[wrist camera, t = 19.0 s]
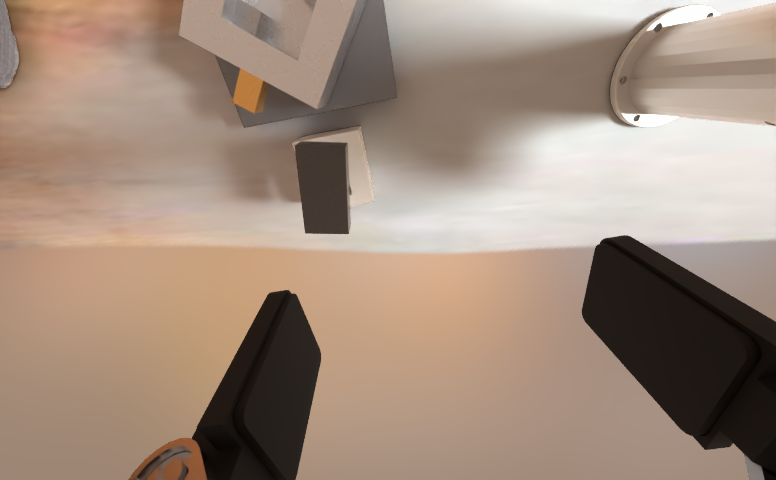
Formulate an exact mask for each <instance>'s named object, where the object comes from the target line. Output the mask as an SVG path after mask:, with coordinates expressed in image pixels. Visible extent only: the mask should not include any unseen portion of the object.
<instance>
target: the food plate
mask: <svg viewBox="0 0 776 480" xmlns="http://www.w3.org/2000/svg"><path fill="white" fill-rule="evenodd" d="M5 5H6V4H5V1H4V0H0V87H1V88H6V87H8V86H9V85H10V83H11V82H12V81H13V76H15V75H16V74H15V73H16V72H17V71H16V69H17V68H18V65H19V51H18V49H17V46H16V45H17V43H16V40H15V39H16V37H15V36H14V35H13V33H12V31H11V25H10V22H9V21H10V20H9V15H8V9H7V8H6V6H5ZM1 88H0V89H1Z"/></svg>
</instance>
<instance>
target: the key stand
mask: <svg viewBox="0 0 776 480" xmlns="http://www.w3.org/2000/svg"><path fill="white" fill-rule="evenodd" d="M301 141H309V142H343V143H348V164H349V193H350V206H353V205H359V204H365V203H370V202H374V189H373V184H372V179H371V174H370V170H369V165H368V160H367V155H366V150H365V145H364V141H363V136H362V131H361V126H356V127H350V128H345V129H340V130H335V131H330V132H324V133H319V134H314V135H309V136H304V137H300V138H299V139H297V140H295V141H294V142H292V145H293V148H294V151H295V145H296V144H298V143H299V142H301ZM295 154H296V153H295Z"/></svg>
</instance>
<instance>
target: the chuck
mask: <svg viewBox="0 0 776 480" xmlns="http://www.w3.org/2000/svg"><path fill="white" fill-rule="evenodd" d="M366 1H367V0H184V1H183V8H182V15H181V22H180V29H179V36H181V37H183V38H185V39H187V40H189V41H190V42H192V43H194V44H196V45H198V46H200V47H202V48H204V49H205V50H207V51H209V52H211V53H213V54H215V55H217V56H218V57H220V58H222V59H224V60H226V61H228V62H230V63H232V64H233V65H235V66H237V67H239V68H240V72H239V76H238V80H237V84H236V89H235V93H234V97H233V101H232V102H233V103H235V104H237V105H239V106H241V107H243V108H245V109H247V110H249V111H250V112H252V113H259V112H262V110H263V107H264V103H265V100H266V96H267V93H268V89H269V86H270V84H271V85H273V86H274V87H276V88H278V89H280V90H282V91H284V92H286V93H288V94H289V95H291V96H293V97H295V98H297V99H299V100H301V101H302V102H304V103H306V104H308V105H310V106H312V107H314V108H315V109H319V108H322V107H325V106H327V104H328V102H329V99H330V97H331V94H332V91H333V89H334V86H335V83H336V81H337V78H338V75H339V73H340V70H341V67H342V65H343V62H344V60H345V57H346V54H347V52H348V49H349V46H350V44H351V41H352V38H353V36H354V33H355V31H356V28H357V25H358V23H359V20H360V17H361V15H362V12H363V9H364V7H365V4H366Z"/></svg>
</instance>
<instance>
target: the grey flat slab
mask: <svg viewBox="0 0 776 480" xmlns="http://www.w3.org/2000/svg"><path fill="white" fill-rule="evenodd" d="M215 56H216V59H217V61H218V64H219V66H220V69H221V71H222V74H223V76H224V79H225V81H226V84H227V86H228V89H229V91H230V94H231V96H232V99H233V97H234V93H235V89H236V84H237V80H238V76H239V72H240V68H239V67H237V66H235V65H233V64H232V63H230V62H228V61H226V60H224V59H222V58H220V57H218V56H217V55H215ZM393 98H397V94H396V87H395V80H394V72H393V65H392V58H391V51H390V44H389V37H388V30H387V23H386V16H385V9H384V2H383V0H367V1H366V4H365V7H364V9H363V12H362V15H361V17H360V20H359V23H358V25H357V28H356V31H355V33H354V36H353V38H352V41H351V44H350V46H349V49H348V52H347V54H346V57H345V60H344V62H343V65H342V67H341V70H340V73H339V75H338V78H337V81H336V83H335V86H334V89H333V91H332V94H331V97H330V99H329V102H328V104H327V106H325V107H322V108H319V109H315V108H314V107H312V106H310V105H308V104H306V103H304V102H302V101H301V100H299V99H297V98H295V97H293V96H291V95H289V94H288V93H286V92H284V91H282V90H280V89H278V88H276V87H274V86H273V85H271V84H270V86H269V89H268V93H267V96H266V100H265V103H264V107H263V110H262V112H259V113H252V112H250V111H249V110H247V109H245V108H243V107H241V106H239V105H237V104H235V103H234V104H235V106H236V109H237V111H238V114H239V117H240V119H241V122H242V124H243V127H244V128H246V127H251V126H256V125H261V124H267V123H272V122H277V121H282V120H287V119H292V118H297V117H302V116H307V115H312V114H317V113H322V112H327V111H333V110H338V109H343V108H348V107H353V106H358V105H363V104H368V103H373V102H378V101H383V100H388V99H393Z"/></svg>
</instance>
